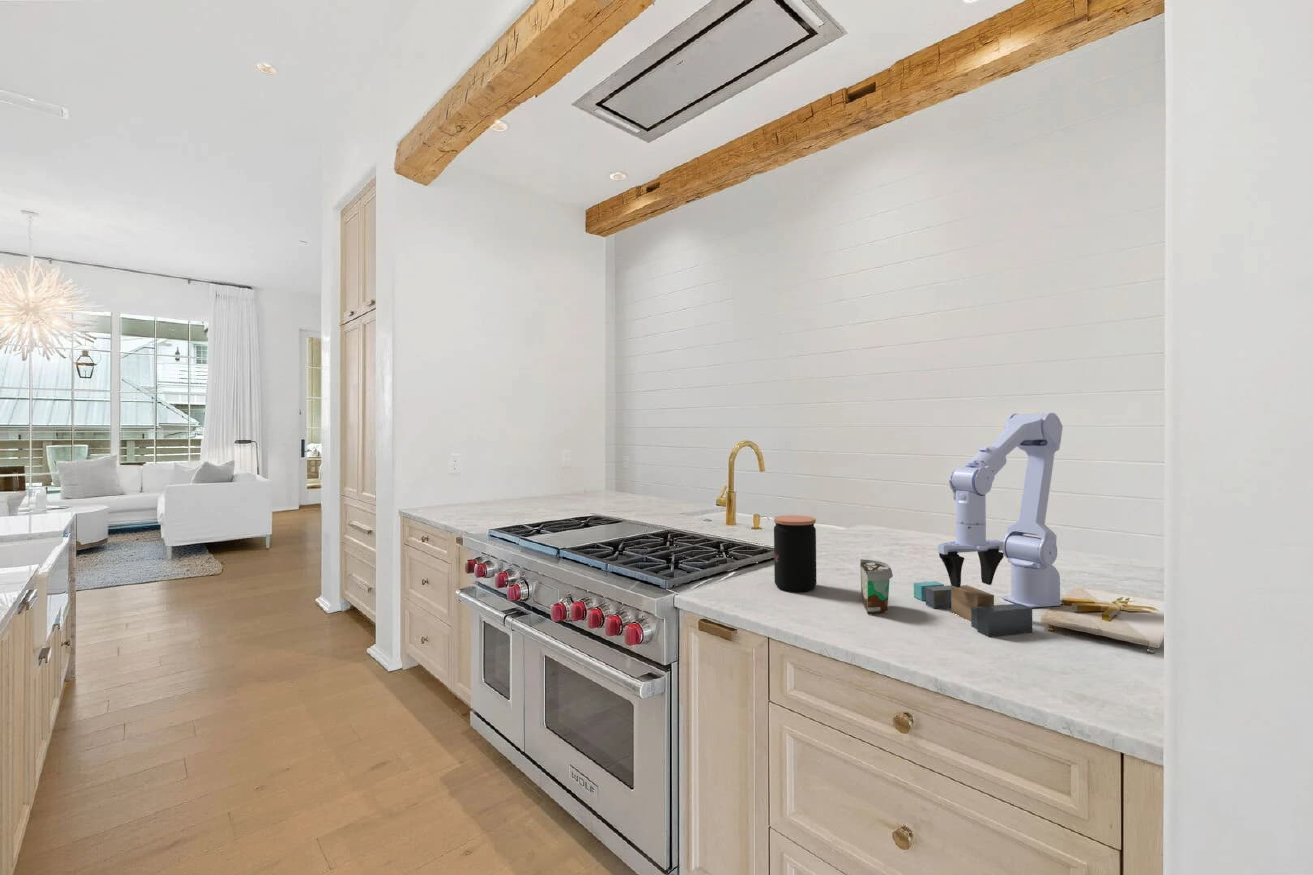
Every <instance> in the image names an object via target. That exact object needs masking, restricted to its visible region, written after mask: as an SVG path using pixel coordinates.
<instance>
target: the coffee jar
mask: <svg viewBox="0 0 1313 875" xmlns="http://www.w3.org/2000/svg"><path fill="white" fill-rule="evenodd" d="M816 519H817V518H815V517H813V516H807V515H793V514H792V515H779V516H775V517H774V518H773V522H774V523H775V525H774V526H773V557H774V558H773V562H774V567H773V568H774V572H773V573H774V584H775V586H776V587H777V589H778V590H782V591H785V592H790V593H806V592H811V591H813V590H814V589H815V587H816V586H817V529H816V527H815V524H816V521H817V520H816Z"/></svg>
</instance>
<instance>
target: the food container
mask: <svg viewBox="0 0 1313 875" xmlns="http://www.w3.org/2000/svg"><path fill="white" fill-rule="evenodd" d="M859 560H860V562H859V563H860V566H859V567H860V596H861V600H860V601H861V604H862V606H863V609H864V610H866V611H865V612H866V614H876V615H882V613H883V614H885V613H887V612H888V609H889V608H888V606H889V592H890V579H891V578H893V570H892V568H891V566H890V565H889V564H888V563H886V562H883V561H880V560H879V561H878V560H873V559H864V558H863V559H859ZM886 611H887V612H886Z"/></svg>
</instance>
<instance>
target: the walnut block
mask: <svg viewBox="0 0 1313 875" xmlns="http://www.w3.org/2000/svg"><path fill="white" fill-rule="evenodd" d="M992 605H995V595H994V594H992V593H990V592H986V591H984V590H981V589H979V588H976V587H974V586H970V585H968V584H966V585H962V584H961V585H960V587H958V588H957V587H954V586H951V607H950V609H951V611H950V612H951V613H952V614H953V613H954V615H955V614H957V615H956V616H958V615H959V616H958V617H960V618H962V619H965V620H966V619H967V621H968V620H969V622H971V607H980V606H992Z"/></svg>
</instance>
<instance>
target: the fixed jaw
mask: <svg viewBox="0 0 1313 875" xmlns="http://www.w3.org/2000/svg"><path fill="white" fill-rule="evenodd" d="M970 623H971V627H972V628H974V629H976V631H977V633H980V634H981V635H984V636H986V637H987V636H988V638H991V637H992V636H993V637H1001V636H1002V637H1003V636H1012V635H1024V634H1033V608H1031V607H1028V606H1026V605H1023V604H1016V603H1012V604H1011V603H1010V604H994V605H992V606H980V607H971V621H970Z"/></svg>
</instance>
